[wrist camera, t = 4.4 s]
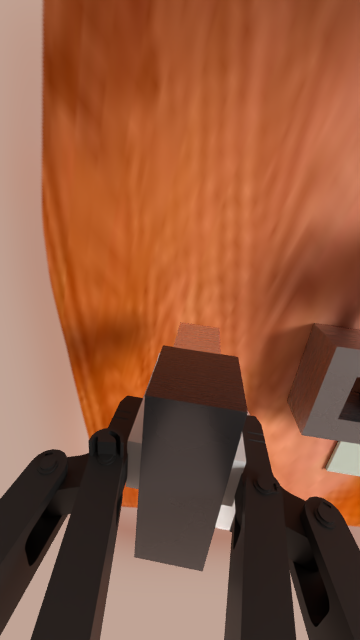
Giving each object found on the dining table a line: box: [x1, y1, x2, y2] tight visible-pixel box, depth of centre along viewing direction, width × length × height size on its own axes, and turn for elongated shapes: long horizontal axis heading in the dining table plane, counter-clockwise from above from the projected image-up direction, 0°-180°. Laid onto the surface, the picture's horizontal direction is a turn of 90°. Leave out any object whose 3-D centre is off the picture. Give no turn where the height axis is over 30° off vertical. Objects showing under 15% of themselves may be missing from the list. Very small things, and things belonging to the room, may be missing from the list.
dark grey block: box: [134, 322, 248, 571], centre depth 15 cm, size 9×3×12 cm, turn 174°
